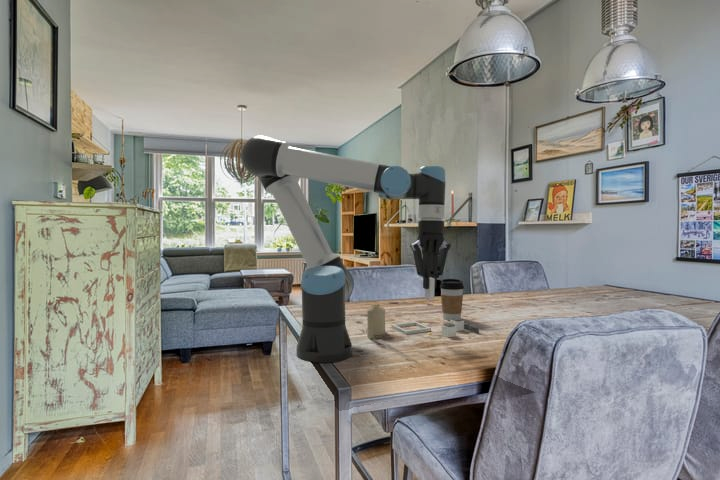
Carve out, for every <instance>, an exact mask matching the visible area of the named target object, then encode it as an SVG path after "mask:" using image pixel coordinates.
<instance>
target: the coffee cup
mask: <svg viewBox="0 0 720 480" xmlns="http://www.w3.org/2000/svg"><path fill="white" fill-rule="evenodd" d="M439 288H440V292H441V293H440V298H441V300H440V301H441V309H442V310H441V311H442V318H443V320H446V321H450V320H452V318H461V319H462V312H463V311H462V310H463V308H462V307H463V299H464V294H463V292H464V289H465V286H464V283H463V280H461V279H457V278H445V279H444V278H443V279H441V281H440V285H439Z"/></svg>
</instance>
